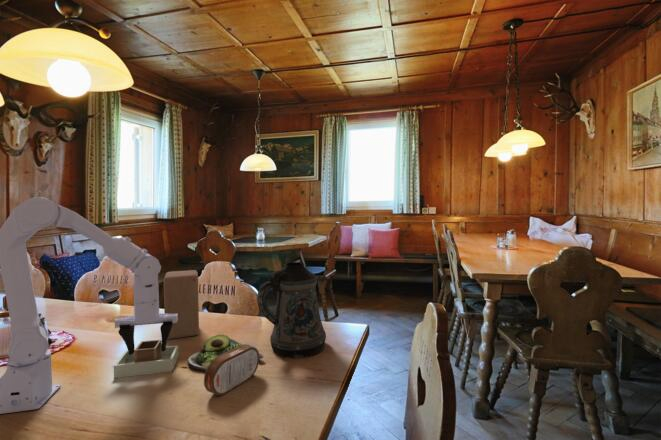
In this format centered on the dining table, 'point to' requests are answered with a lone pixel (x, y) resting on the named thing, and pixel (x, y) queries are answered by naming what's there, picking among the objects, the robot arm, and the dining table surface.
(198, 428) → the dining table surface
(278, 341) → the beer stein
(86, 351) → the dining table surface
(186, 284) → the wooden block
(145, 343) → the walnut crate
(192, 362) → the salad plate
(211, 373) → the tin
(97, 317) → the dining table surface
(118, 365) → the sage crate
